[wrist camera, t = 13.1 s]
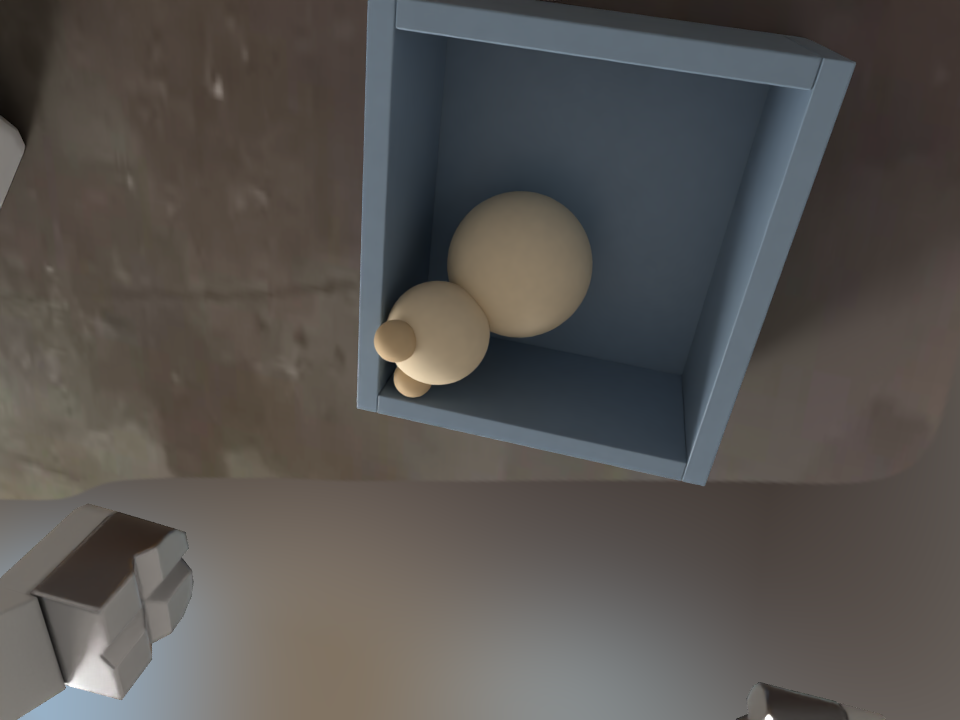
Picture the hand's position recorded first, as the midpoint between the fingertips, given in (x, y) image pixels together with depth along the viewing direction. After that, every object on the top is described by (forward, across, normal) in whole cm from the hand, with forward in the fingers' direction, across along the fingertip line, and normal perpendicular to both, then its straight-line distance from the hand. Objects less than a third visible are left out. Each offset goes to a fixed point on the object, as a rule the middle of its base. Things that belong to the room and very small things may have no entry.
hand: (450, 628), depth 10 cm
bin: (+20, 0, 0) cm, 20 cm away
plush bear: (+19, 0, 0) cm, 19 cm away
